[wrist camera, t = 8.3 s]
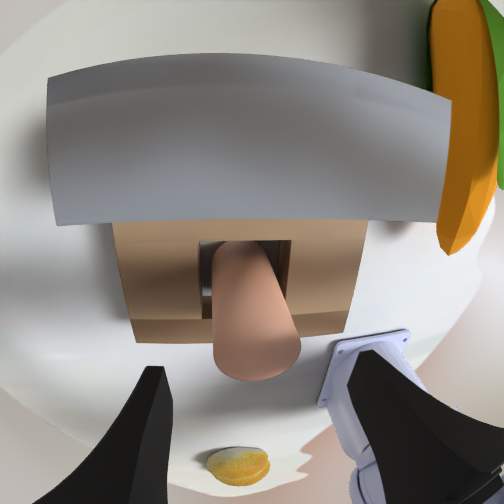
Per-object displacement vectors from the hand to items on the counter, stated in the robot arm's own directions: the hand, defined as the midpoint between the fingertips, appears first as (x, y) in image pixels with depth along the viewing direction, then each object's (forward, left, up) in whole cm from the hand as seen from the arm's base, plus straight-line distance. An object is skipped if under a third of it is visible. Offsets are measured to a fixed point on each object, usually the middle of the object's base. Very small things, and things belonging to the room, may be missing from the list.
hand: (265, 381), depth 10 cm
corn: (+12, -15, -10) cm, 21 cm away
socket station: (+3, 0, -10) cm, 10 cm away
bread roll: (-30, 0, -10) cm, 31 cm away
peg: (0, 0, -10) cm, 10 cm away
